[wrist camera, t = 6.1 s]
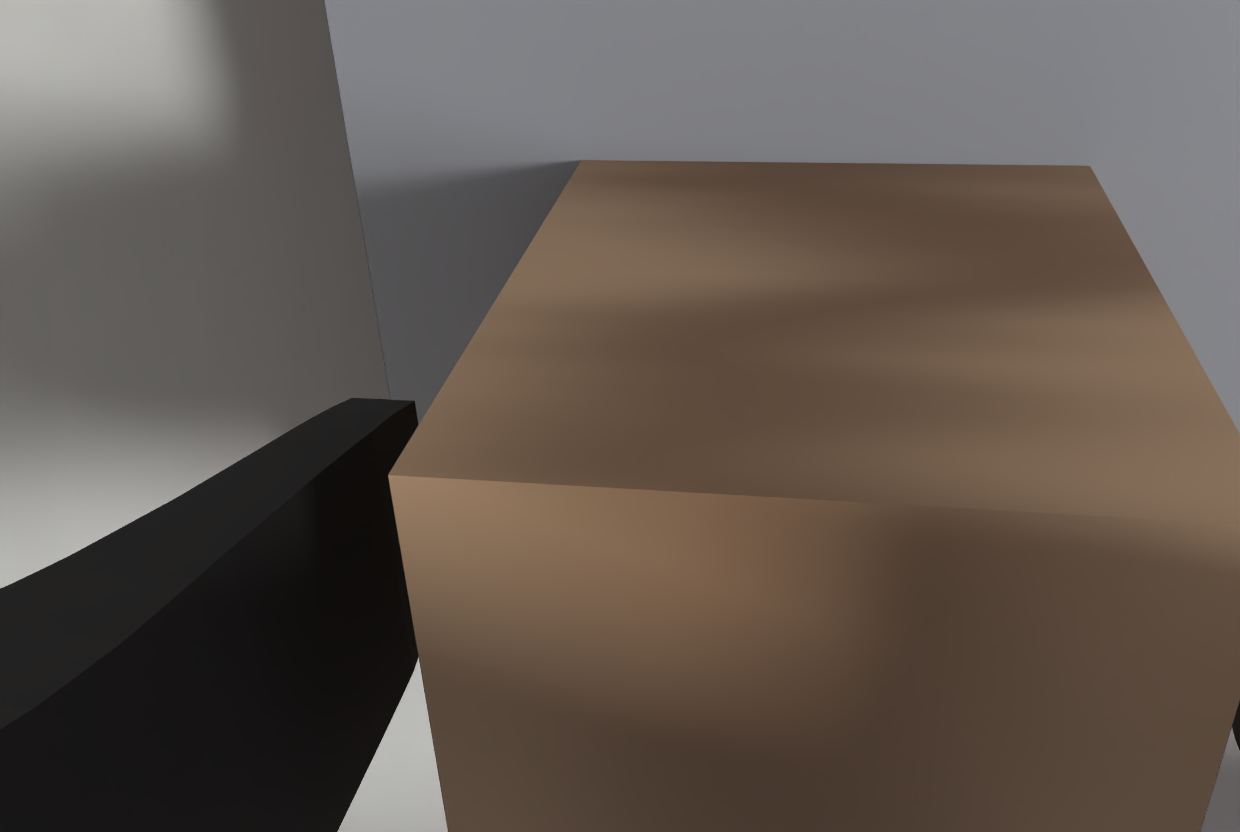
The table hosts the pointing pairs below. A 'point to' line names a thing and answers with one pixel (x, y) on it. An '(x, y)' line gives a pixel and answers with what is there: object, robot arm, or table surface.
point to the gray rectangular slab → (774, 127)
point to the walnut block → (826, 514)
